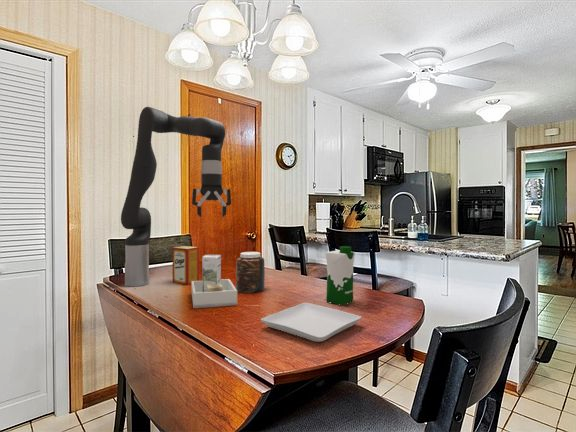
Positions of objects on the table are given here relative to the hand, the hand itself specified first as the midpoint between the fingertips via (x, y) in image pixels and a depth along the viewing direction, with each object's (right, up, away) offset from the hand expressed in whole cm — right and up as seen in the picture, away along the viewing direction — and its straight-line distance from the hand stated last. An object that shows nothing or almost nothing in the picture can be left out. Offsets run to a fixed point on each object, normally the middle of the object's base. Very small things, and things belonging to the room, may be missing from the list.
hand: (211, 216), depth 130 cm
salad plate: (+35, -32, -32) cm, 57 cm away
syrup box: (0, -29, +1) cm, 29 cm away
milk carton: (+47, -31, -6) cm, 57 cm away
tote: (+1, -30, -3) cm, 30 cm away
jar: (+13, -30, +12) cm, 35 cm away
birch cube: (+3, -29, -8) cm, 31 cm away
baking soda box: (-17, -30, +24) cm, 42 cm away
